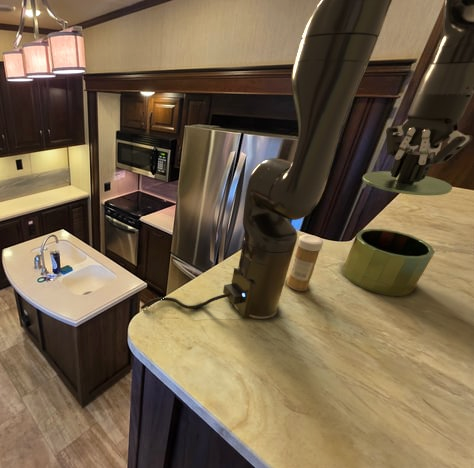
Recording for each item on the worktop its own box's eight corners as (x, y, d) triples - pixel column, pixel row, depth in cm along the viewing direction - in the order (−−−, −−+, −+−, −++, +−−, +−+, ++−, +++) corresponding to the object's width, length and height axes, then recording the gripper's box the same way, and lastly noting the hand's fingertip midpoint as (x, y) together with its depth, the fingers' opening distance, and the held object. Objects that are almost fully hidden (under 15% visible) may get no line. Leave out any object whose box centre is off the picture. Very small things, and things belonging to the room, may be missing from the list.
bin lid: (412, 202, 56) (429, 166, 52) (345, 180, 68) (355, 150, 65) (469, 192, 58) (489, 157, 55) (394, 173, 70) (407, 143, 67)
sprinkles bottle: (311, 286, 71) (327, 239, 64) (301, 294, 68) (317, 246, 62) (292, 277, 74) (305, 232, 67) (282, 284, 72) (295, 238, 65)
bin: (381, 300, 65) (400, 262, 60) (330, 268, 76) (343, 233, 71) (428, 290, 67) (451, 252, 62) (371, 259, 78) (387, 225, 73)
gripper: (389, 91, 59) (359, 172, 68) (478, 93, 47) (429, 192, 56) (418, 88, 61) (385, 168, 69) (513, 89, 49) (459, 187, 57)
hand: (405, 178), depth 62 cm, fingers closed on bin lid, 3 cm apart
